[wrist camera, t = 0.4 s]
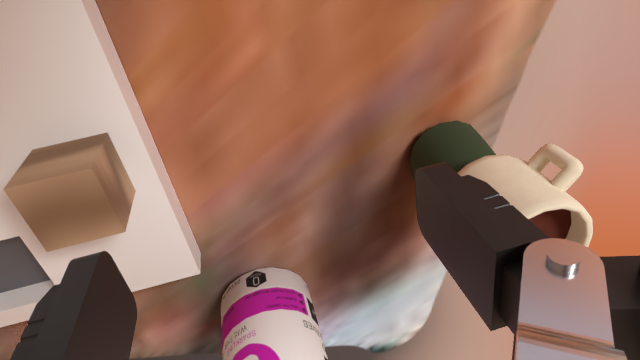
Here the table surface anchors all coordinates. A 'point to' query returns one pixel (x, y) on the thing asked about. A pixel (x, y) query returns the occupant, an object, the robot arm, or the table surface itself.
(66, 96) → the board
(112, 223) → the walnut block
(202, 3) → the table surface
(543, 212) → the character mug
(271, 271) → the supplement can
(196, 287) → the table surface
